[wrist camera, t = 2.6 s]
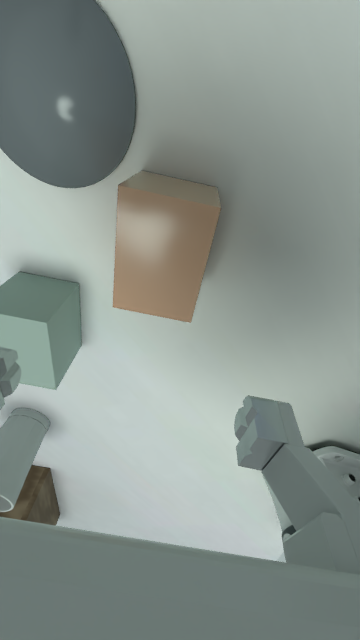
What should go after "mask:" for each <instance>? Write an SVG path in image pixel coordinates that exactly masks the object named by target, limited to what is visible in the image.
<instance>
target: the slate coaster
mask: <svg viewBox="0 0 360 640" xmlns="http://www.w3.org/2000/svg"><path fill="white" fill-rule="evenodd" d="M135 116H136V99H135V87H134V82H133V76H132V72H131V68H130V65H129V61H128V58H127V55H126V53H125V50H124V47H123V45H122V42H121V40H120V38H119V36H118V34H117V32H116V30H115V29H114V27H113V25H112V24H111V22H110V21H109V19H108V18H107V16H106V14H105V13H104V12H103V11H102V9H101V8H100V7H99V6H98V4H97V3H96V2H95V1H94V0H0V148H1V149H2V150H3V152H4V153H5V154H6V155H7V156H8V157H9V158H10V159H11V160H12V161H13V162H14V163H15V164H17V165H18V166H19V167H20V168H21V169H23V170H24V171H25V172H27V173H28V174H30V175H31V176H33V177H35V178H37V179H38V180H40V181H43V182H45V183H48V184H50V185H54V186H57V187H64V188H80V187H86V186H89V185H92V184H94V183H96V182H98V181H100V180H102V179H104V178H105V177H107V176H108V175H109V174H111V173H112V172H113V171H114V169H115V168H116V167H117V166H118V165H119V163H120V162H121V161H122V159H123V157H124V155H125V154H126V152H127V150H128V147H129V144H130V142H131V138H132V134H133V130H134V124H135Z"/></svg>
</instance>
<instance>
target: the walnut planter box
mask: <svg viewBox="0 0 360 640" xmlns="http://www.w3.org/2000/svg"><path fill="white" fill-rule="evenodd" d="M59 516H60V512H59V507H58V503H57V498H56V494H55V489H54V484H53V480H52V475H51V470H50V468H45V467H39V466H33V465H31V468H30V470H29V472H28V474H27V477H26V479H25V482H24V484H23V487H22V489H21V491H20V494H19V496H18V498H17V501H16V503H15V506H14V508H13V509H12V510H10V511H7V512H0V517H5V518H12V519H18V520H24V521H30V522H36V523H43V524H49V525H55V526H56V524H57V521H58V518H59Z"/></svg>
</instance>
